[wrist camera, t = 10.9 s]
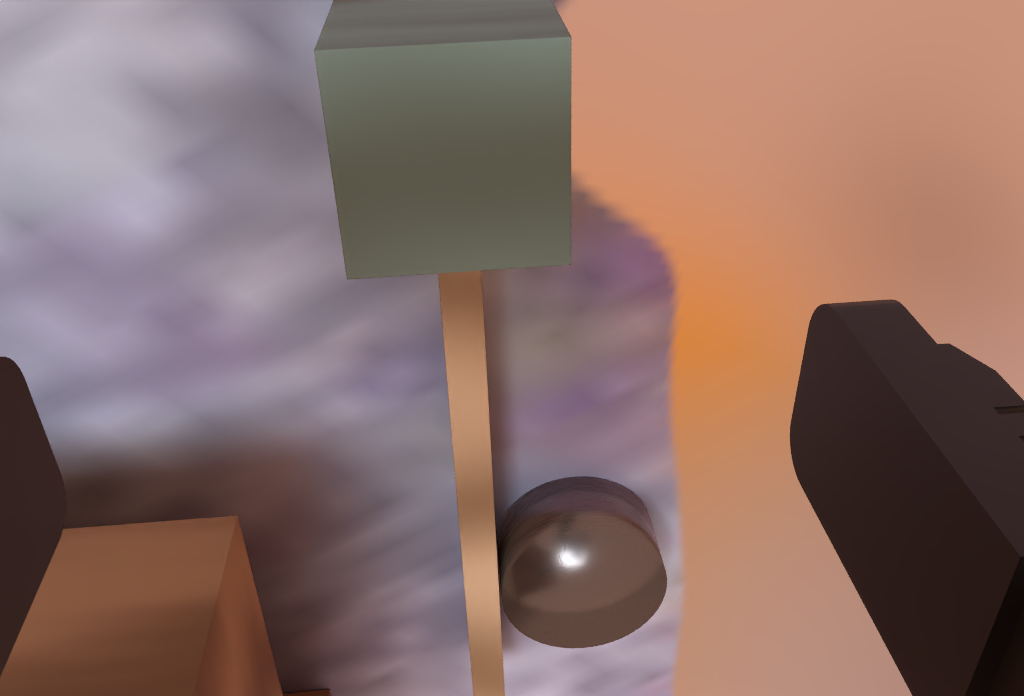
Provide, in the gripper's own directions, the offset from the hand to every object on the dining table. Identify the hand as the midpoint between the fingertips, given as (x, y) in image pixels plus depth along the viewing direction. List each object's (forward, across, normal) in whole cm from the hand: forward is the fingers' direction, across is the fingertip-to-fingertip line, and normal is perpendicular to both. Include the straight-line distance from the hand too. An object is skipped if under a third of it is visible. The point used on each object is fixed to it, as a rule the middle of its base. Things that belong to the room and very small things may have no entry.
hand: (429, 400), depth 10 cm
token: (+14, -4, +16) cm, 21 cm away
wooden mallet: (+14, -1, +9) cm, 17 cm away
